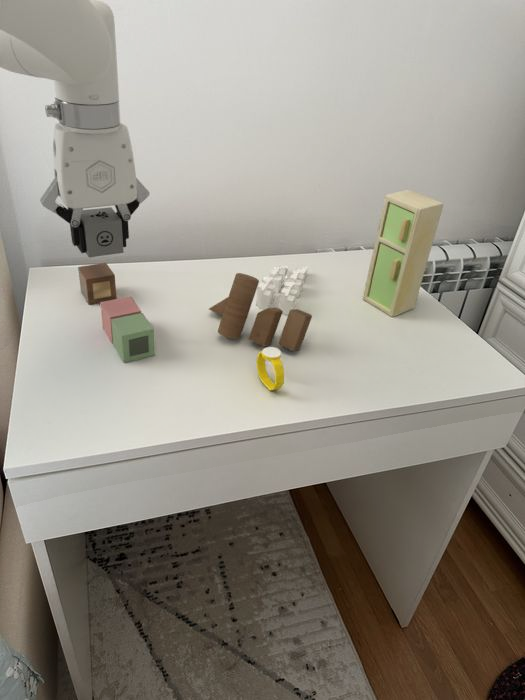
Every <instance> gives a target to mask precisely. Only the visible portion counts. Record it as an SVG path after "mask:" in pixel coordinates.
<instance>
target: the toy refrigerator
mask: <svg viewBox="0 0 525 700" xmlns="http://www.w3.org/2000/svg"><path fill="white" fill-rule="evenodd" d="M443 208H444V203H443V202H441V201H439V200H436V199H434V198H432V197H429V196H427V195H424V194H423V193H419V192H417V191H414V190H411V189H405V190H399V191H395V192H392V193H387V194H385V196H384V199H383V203H382V207H381V212H380V217H379V222H378V226H377V231H376V236H375V239H374V245H373V249H372V254H371V258H370V259H371V260H370V263H369V268H368V272H367V277H366V280H365V281H366V282H365V285H364V291H363V295H362V300H364V301H365V302H367V303H368V304H370V305H372V306H373V307H375V308H377V309H378V310H380V311H382V312H383V313H385V314H386V315H388V316H390V317H396V316H399V315H401V314H404V313H406V312H408V311H412V310H413V309H414V308H415V307H416V303H417V299H418V296H419V293H420V288H421V285H422V282H423V280H424V279H423V278H424V275H425V272H426V268H427V265H428V261H429V257H430V254H431V250H432V248H433V243H434V241H435V240H434V239H435V237H436V232H437V231H438V230H437V229H438V225H439V222H440V219H441V216H442V213H443Z"/></svg>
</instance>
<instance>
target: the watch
mask: <svg viewBox="0 0 525 700" xmlns="http://www.w3.org/2000/svg"><path fill="white" fill-rule="evenodd" d="M281 357H282V351H281V350H280V349H279V348H278V347H274V346H267V347H264V348H263V349H262V350H260V351H259V353H258V354H257V356H256V371H257V375H258V377H259V380H260V381H261V382H262V383H263V385H264V386H265V387H266V388H267V389H268V391H270V392H271V391H275V390H278V389H281V388H283V386H284V382H285V371H284V365H283V362H282V360H281ZM266 361H268V362H270V363H271V365H272V366H273V372H274V377H275V378H274V381H272V379H271V378H270V377H269V374H268V371H267V367H266Z"/></svg>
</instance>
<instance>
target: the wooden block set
mask: <svg viewBox="0 0 525 700" xmlns="http://www.w3.org/2000/svg"><path fill="white" fill-rule="evenodd" d="M259 280H260V279H258V278H257V277H254V276H252V275H249V274H246V273H241V272H237V273H236V274H235V276H234V279H233V282H232V284H231V288H230V291H229V294H228V297H225V298H224V299H222V300H221V301H219V302H218V303H216V304H214V305H212V306H211V307H209V308H208V310H209V311H211V312H213V313H216V314H218V315H220V316H221V319H220V322H219V325H218V329H217V333H218V334H219V335H220V336H222V337H224V338H226V339H231V340H239V339H241V337H242V334H243V331H244V328H245V325H246V322H247V319H248V316H249V313H250V310H251V307H252V304H253V301H254V298H255V296H256V293H257V289H258V286H259V284H260V281H259ZM282 312H283V311H282V310H280V309H279V307H274V306H273V307H269V308H267V309H265V310H263V309H262V310H261V311H260V312H257V313H256V316H255V319H254V322H253V325H252V328H251V331H250V333H249V336H248V340H249V341H251V342H254V343H256V344H258V345H259V346H262V347H266V346H267V347H268V346H270V345H272V344H273V341H274V338H275V335H276V332H277V329H278V326H279V323H280V320H281V318H282V315H283V314H282ZM312 318H313V315H312V314H310V313H309V312H306V311H304V310H300V309H299V308H294V309H293V310H290V312H289V314H288V315H287V318H286V320H285V323H284V326H283V329H282V332H281V334H280V337H279V340H278V343H277V344H278V345H279V346H281V347H283V348H286V349H288V350H290V351H292V352H296V351H298V350H300V349H301V348H302V346H303V343H304V340H305V337H306V335H307V331H308V329H309V326H310V323H311V321H312Z"/></svg>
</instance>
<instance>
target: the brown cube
mask: <svg viewBox="0 0 525 700" xmlns="http://www.w3.org/2000/svg"><path fill="white" fill-rule="evenodd" d="M77 269H78V279H79V287H80V292H81V294H82V296H83V297H84V300H86V302H87V304H88V305H96V304H100V302H104V301H109V300H114V299H118V298H117V285H116V274H115V273H114V271H113V270H112V269H111V268H110V267H109V265H108V263H107V262H102V263H101V262H100V263H95V264H90V265H89V264H88V265H83V266H78V267H77Z"/></svg>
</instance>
